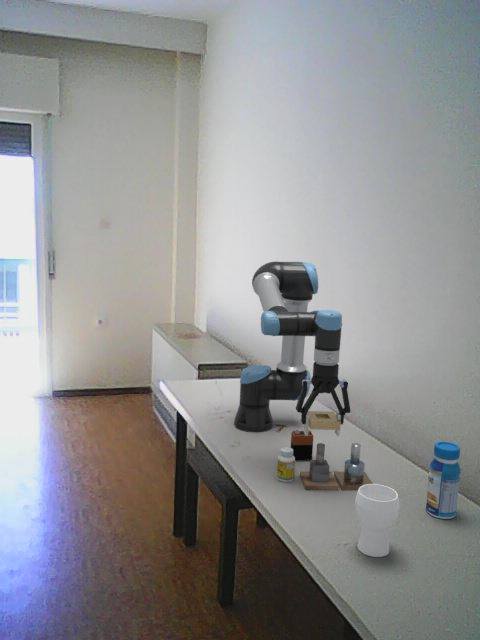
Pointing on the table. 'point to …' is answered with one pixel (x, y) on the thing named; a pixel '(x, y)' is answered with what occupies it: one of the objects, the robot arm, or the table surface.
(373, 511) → the cup
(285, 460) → the supplement bottle
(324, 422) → the brass plate
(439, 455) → the beverage bottle
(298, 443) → the battery
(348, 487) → the peg stand
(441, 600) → the table surface
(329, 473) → the rod stand
